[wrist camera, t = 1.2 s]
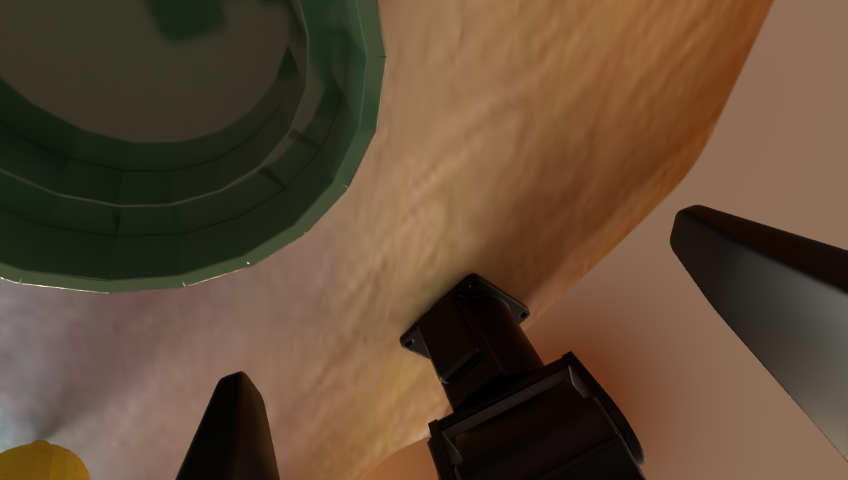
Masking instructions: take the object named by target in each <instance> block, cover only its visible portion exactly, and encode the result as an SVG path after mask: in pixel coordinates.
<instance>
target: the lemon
mask: <svg viewBox="0 0 848 480" xmlns="http://www.w3.org/2000/svg"><path fill="white" fill-rule="evenodd" d="M0 480H90V476H89V473H88V470H87V469H86V467H85V465H84V464H83V462H82V461H81V459H80V458H79V457H78V456H77V455H75V454H74V453H72V452H71V451H70V450H68V449H66V448H63V447H60V446H58V445H53V444H50V443H49V442H47V441H46V440H37V441H34V442H33V443H31V444H27V445H22V446H18V447H15V448H12V449H9V450H7V451H5V452H3V453H1V454H0Z"/></svg>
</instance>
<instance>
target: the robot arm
mask: <svg viewBox="0 0 848 480" xmlns="http://www.w3.org/2000/svg"><path fill="white" fill-rule="evenodd" d="M670 244H671V247H672V250H673V252H674V253H675V254H676V256H677V257H678V259H679V260H680V262H681V263H682V264H683V266H684V267H685V269H686V270H687V271H688V273H689V274H690V276H691V277H692V278H693V280H694V281H695V283H696V284H697V286H698V287H699V288H700V290H701V291H702V293H703V294H704V296H705V297H706V298H707V300H708V301H709V302H710V304H711V305H712V306H713V308H714V309H715V310H716V311H717V313H718V314H719V315H720V316H721V317H722V319H723V320H724V321H725V322H726V323H727V324H728V325H729V327H730V328H731V329H732V330H733V331H734V332H735V333H736V335H737V336H738V337H739V338H740V339H741V340H742V342H743V343H744V344H745V345H746V346H747V347H748V348H749V349H750V351H751V352H752V353H753V354H754V355H755V356H756V357H757V359H758V360H759V361H760V362H761V363H762V364H763V366H764V367H765V368H766V369H767V370H768V371H769V372H770V374H771V375H772V376H773V377H774V378H775V379H776V380H777V382H778V383H779V384H780V385H781V386H782V387H783V388H784V390H785V391H786V392H787V393H788V394H789V395H790V396H791V398H792V399H793V400H794V401H795V402H796V403H797V405H798V406H799V407H800V408H801V409H802V410H803V411H804V413H805V414H806V415H807V416H808V417H809V418H810V419H811V421H812V422H813V423H814V424H815V425H816V426H817V427H818V428H819V430H820V431H821V432H822V433H823V434H824V435H825V437H826V438H827V439H828V440H829V441H830V442H831V443H832V445H833V446H834V447H835V448H836V449H837V450H838V451H839V453H840V454H841V455H842V456H843V457H844V458H845V460H846V461H847V462H848V250H844V249H841V248H837V247H835V246H831V245H828V244H825V243H822V242H819V241H815V240H812V239H809V238H805V237H802V236H799V235H796V234H793V233H789V232H786V231H783V230H780V229H776V228H773V227H770V226H767V225H763V224H760V223H757V222H754V221H750V220H747V219H744V218H741V217H738V216H734V215H731V214H728V213H725V212H721V211H718V210H715V209H712V208H709V207H705V206H702V205H693V206H690V207H687V208H685V209H682V210H680V211H679V212H678V213H677V214H676V216H675V220H674V225H673V228H672V233H671V237H670ZM472 282H473V283H472ZM529 315H530V311H529V309H528V308H527V306H526V305H524V304H523V303H521V302H519V301H518V300H516V299H515V298H513V297H512V296H510V295H509V294H507V293H506V292H504V291H502V290H501V289H499V288H498V287H496V286H495V285H493V284H492V283H490V282H489V281H487V280H485V279H484V278H482V277H481V276H479V275H478V274H470V275H468V276H467V277H466V278H465V279H464V280H462V281H461V282H460V283H459V284H458V285H457V286H456V287H455V288H454V289H453V290H452V291H450V292H449V293H448V294H447V295H446V296H445V297H444V298H443V299H442V300H441V301H439V302H438V303H437V304H436V305H435V306H434V307H433V308H432V309H431V310H430V311H429V312H427V313H426V314H425V315H424V316H423V317H422V318H421V319H420V320H419V321H418V322H417V323H415V324H414V325H413V326H412V327H411V328H410V329H409V330H408V331H407V332H406V333H404V334H403V335H402V336H401V338H400V343H401V346H402V347H403V348H404V349H407V350H409V351H411V352H414V353H416V354H419V355H421V356H423V357H426V358H428V359H431V362H432V364H433V367H434V369H435V371H436V374H437V376H438V378H439V380H440V381H441V384H442V386H443V389H444V391H445V393H446V396H447V398H448V400H449V403H450V405H451V407H452V410H453V412H454V413H452V414H450V415H448V416H446V417H444V418H442V419H440V420H437V419H436V420H434V421H432V422H430V423H428V426H429V429H430V433H431V436H432V437H431V438H429V439H430V440H429V441H428V442H427V444H428V447H429V449H430V452H431V455H432V458H433V460H434V463H435V466H436V470H437V474H438V479H439V480H646V478H645V476H644V475H643V473H642V471H641V469H640V468H639V467H640V466H641V465H643V464H645V463H646V458H645V455H644V452H643V449H642V448H641V445H640V443H639V441H638V439H637V437H636V435H635V433H634V431H633V430H632V428H631V427H630V425H629V423H628V421H627V420H626V418H625V417H624V415H623V414H622V412H621V411H620V409H619V408H618V407H617V405H616V404H615V403H614V401H613V400H612V399H611V398H610V396H609V395H608V394H607V393H606V392H605V391H604V389H603V388H602V387H601V386H600V385H599V383H598V382H597V381H596V380H595V379H594V378H593V376H592V375H591V374H590V373H589V372H588V370H587V369H586V368H585V367H584V366H583V364H581V362H580V361H579V360H578V359H577V357H576V356H575V355H574V354H573V353H572V352H571V351H570V352H568V353H566V354H564V355H562V358H560V359H558V360H556V361H554V362H552V363H550V364H548V365H546V366H545V365H544V364H543V362H542V361H541V359H540V357H539V356H538V354H537V353H536V351H535V350H534V348H533V346H532V345H531V343H530V342H529V340H528V338H527V337H526V335H525V333H524V332H523V330H522V329H521V327H520V325H519V324H520V323H521V322H523V321H524V320H525V319H526V318H527V317H528V316H529ZM175 480H280V478H279V472H278V467H277V462H276V457H275V453H274V448H273V443H272V438H271V433H270V428H269V424H268V419H267V414H266V409H265V405H264V401H263V398H262V396H261V394H260V392H259V391H258V390H257V388H256V387H255V385H254V384H253V383H252V381H251V380H250V379H249V377H248V376H247V374H246V373H244V372H242V371H240V372H236V373H233V374H231V375H228V376H225V377H223V378H221V379H220V380H219V382H218V383H217V386H216V388H215V390H214V393H213V395H212V397H211V399H210V402H209V404H208V406H207V408H206V411H205V413H204V415H203V418H202V420H201V422H200V424H199V427H198V429H197V431H196V434H195V436H194V438H193V440H192V443H191V445H190V447H189V450H188V452H187V454H186V456H185V459H184V461H183V463H182V465H181V468H180V470H179V472H178V475H177V477H176V479H175Z"/></svg>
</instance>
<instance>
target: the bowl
mask: <svg viewBox="0 0 848 480" xmlns="http://www.w3.org/2000/svg"><path fill="white" fill-rule="evenodd" d="M386 59H387V57H386V48H385V42H384V36H383V30H382V24H381V18H380V12H379V6H378V1H377V0H0V278H1V279H5V280H8V281H11V282H14V283H21V284H26V285H35V286H43V287H52V288H61V289H70V290H78V291H87V292H96V293H108V294H112V293H124V292H136V291H148V290H160V289H172V288H183V287H184V286H185V287H187V286H191V285H194V284H197V283H200V282H204V281H207V280H210V279H213V278H217V277H220V276H223V275H226V274H230V273H233V272H236V271H239V270H243V269H246V268H249V267H250V266H253V265H255V264H257V263H258V262H260V261H261V260H263V259H265V258H266V257H268V256H270V255H271V254H273V253H275V252H276V251H278V250H280V249H281V248H283V247H285V246H286V245H288V244H290V243H291V242H293V241H295V240H296V239H298V238H300V237H301V236H303V235H304V234H305V233H307V232H308V231H309V230H310V229H311V228H312V227H313V225H314V224H315V223H316V222H317V221H318V220H319V219H320V218H321V217H322V216H323V215H324V214H325V213H326V212H327V210H328V209H329V208H330V207H331V206H332V205H333V204H334V203H335V202H336V201H337V200H338V199H339V198H340V197H341V195H342V194H343V193H344V192H345V191H346V190H347V189H348V187H349V186H350V184H351V182H352V180H353V178H354V175H355V173H356V171H357V169H358V167H359V165H360V163H361V161H362V159H363V157H364V155H365V152H366V150H367V148H368V146H369V144H370V142H371V140H372V138H373V136H374V134H375V132H376V128H377V126H378V118H379V111H380V104H381V96H382V89H383V81H384V74H385V67H386Z"/></svg>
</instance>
